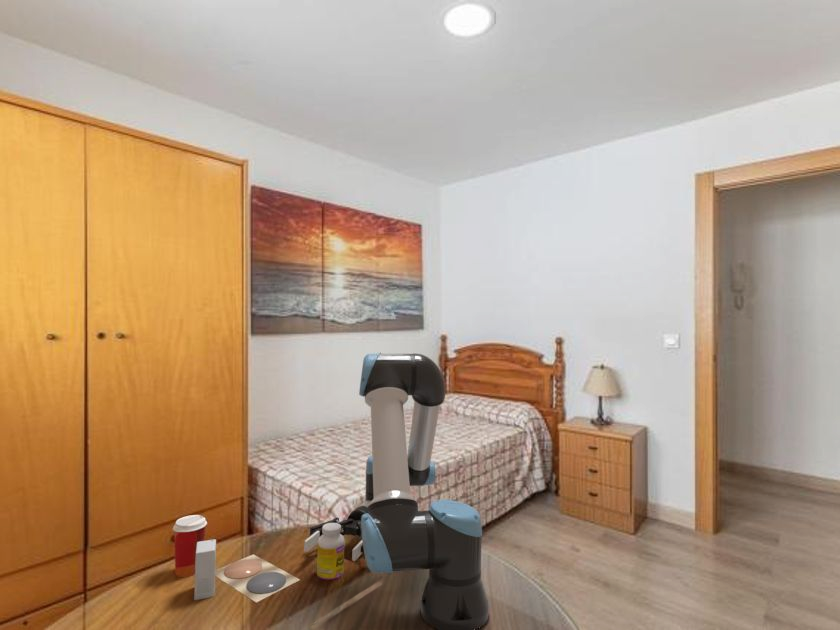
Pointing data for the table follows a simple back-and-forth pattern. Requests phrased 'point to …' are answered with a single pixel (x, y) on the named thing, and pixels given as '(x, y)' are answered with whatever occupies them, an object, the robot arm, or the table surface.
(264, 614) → the table surface
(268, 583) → the slate pad
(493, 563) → the table surface
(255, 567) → the terracotta pad
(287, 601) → the table surface
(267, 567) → the birch board
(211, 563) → the skincare box
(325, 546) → the supplement bottle
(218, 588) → the table surface
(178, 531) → the paper cup
